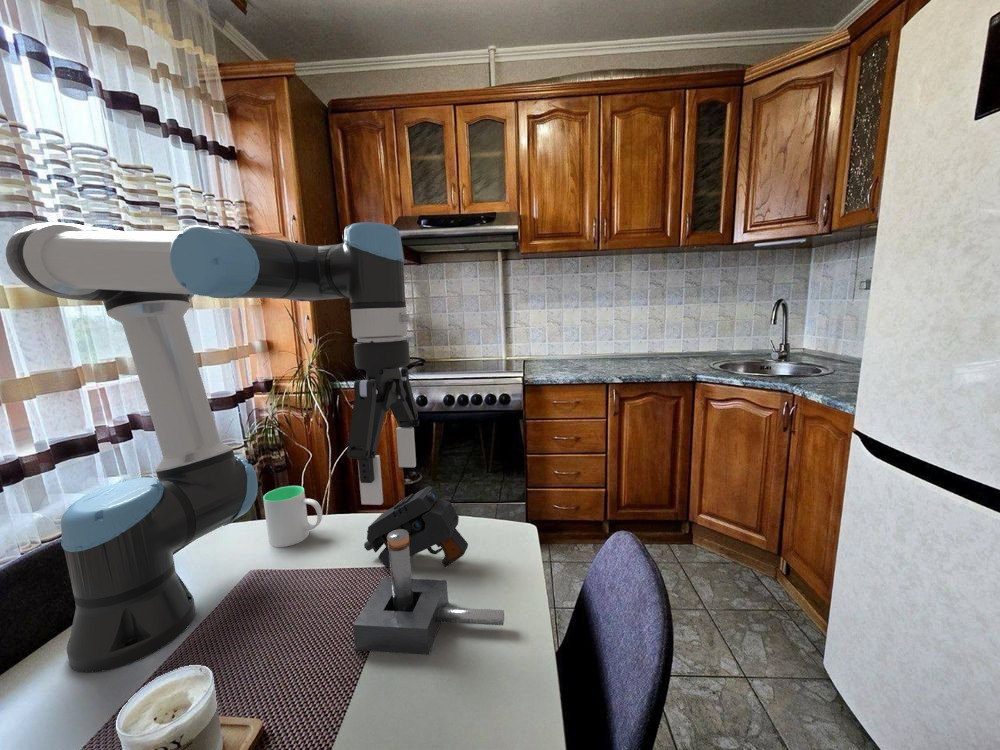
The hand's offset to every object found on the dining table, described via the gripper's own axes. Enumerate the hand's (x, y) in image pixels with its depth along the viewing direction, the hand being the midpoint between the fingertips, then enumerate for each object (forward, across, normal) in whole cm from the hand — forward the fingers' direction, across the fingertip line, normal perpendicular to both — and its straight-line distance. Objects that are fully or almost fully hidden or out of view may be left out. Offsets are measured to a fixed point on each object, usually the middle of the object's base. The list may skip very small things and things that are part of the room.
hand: (391, 483), depth 63 cm
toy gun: (+23, +17, +4) cm, 29 cm away
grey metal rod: (+23, 0, 0) cm, 23 cm away
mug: (+24, +24, +33) cm, 48 cm away
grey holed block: (+23, 0, -5) cm, 24 cm away
